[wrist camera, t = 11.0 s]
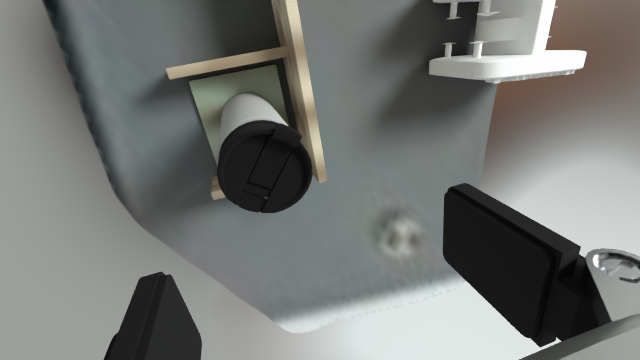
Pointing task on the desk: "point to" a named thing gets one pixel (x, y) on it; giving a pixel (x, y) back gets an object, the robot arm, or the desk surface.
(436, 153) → the desk surface
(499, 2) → the cable organizer
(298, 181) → the travel mug
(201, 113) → the desk dock
